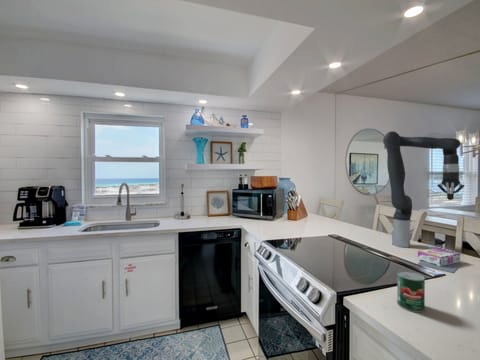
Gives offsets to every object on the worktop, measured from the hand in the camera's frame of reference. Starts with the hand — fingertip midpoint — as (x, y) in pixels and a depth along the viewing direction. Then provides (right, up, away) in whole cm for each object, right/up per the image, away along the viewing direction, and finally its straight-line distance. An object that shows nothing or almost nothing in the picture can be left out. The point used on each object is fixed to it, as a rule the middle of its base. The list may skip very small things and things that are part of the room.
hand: (450, 199), depth 145 cm
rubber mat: (-26, -31, -23) cm, 47 cm away
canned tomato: (-69, -33, -62) cm, 98 cm away
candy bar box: (-15, -29, -16) cm, 36 cm away
